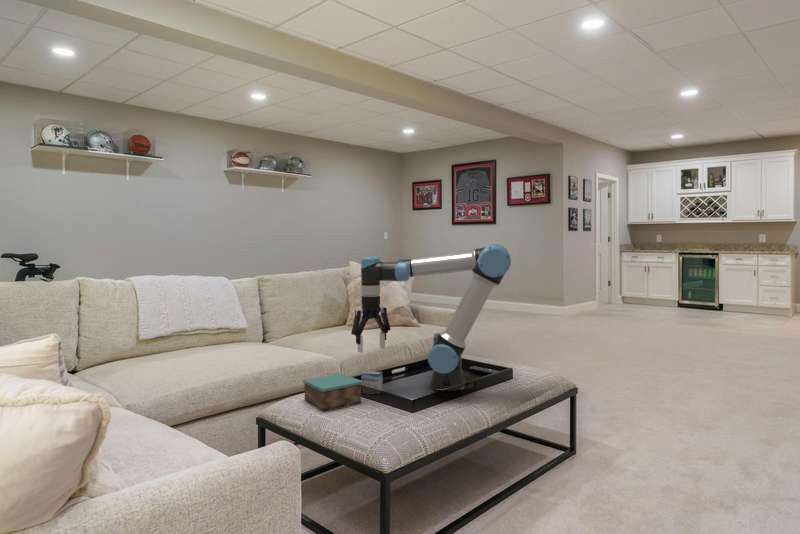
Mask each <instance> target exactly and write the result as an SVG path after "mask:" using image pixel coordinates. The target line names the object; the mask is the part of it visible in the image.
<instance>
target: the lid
mask: <svg viewBox="0 0 800 534" xmlns="http://www.w3.org/2000/svg"><path fill="white" fill-rule="evenodd" d="M302 383H303V384H304V383H305V384H307V385H309V386H311V387H313V388H315V389H318V390H320V391H322V392H326V391H331V390H336V389H341V388H345V387H350V386H355V385H361V384H363V381H361V379H358V378H355V377H353V376H351V375H348V374H345V373H342V372H341V373H335V374H330V375H324V376H319V377H314V378H308V379H304V380H302Z"/></svg>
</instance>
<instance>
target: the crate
mask: <svg viewBox="0 0 800 534" xmlns="http://www.w3.org/2000/svg"><path fill="white" fill-rule="evenodd" d="M303 384H304V388H303V389H304V401H306V402H307V403H308V404H310V405H312V406H313V407H315V408H317V409H318V410H320V411H321V412H328V411H332V410H331V409H333V410H336V409H335V408H337V409H340V407H342V408H345V407H344V406H346V407H348V406H347V405H350V406H353V405H352V404H355V405H358V404H357V403H359V404H361V403H362V394H361V384H360V385H355V386H350V387H345V388H341V389H336V390H331V391H326V392H322V391H320V390H318V389H315V388H313V387H311V386H309V385H307V384H305V383H303Z"/></svg>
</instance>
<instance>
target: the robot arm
mask: <svg viewBox="0 0 800 534" xmlns="http://www.w3.org/2000/svg"><path fill="white" fill-rule="evenodd" d="M511 259H512V257H511V255H510V252H509V251H508V249H507V248H505V247H504V246H503V245H500V244H490V245H488V246H484V247H479V248H475V249H474V248H473V250H472V251H467V252H458V253H451V254H449V253H448V254H441V255H434V256H432V255H431V256H425V257H416V258H411V259H398V260H396V261H387V262H386V261H381V259H380V257H379V256H365V257H362V258H361V263H360V264H361V265H360V266H361V267H360V276H361V277H360V279H361V281H360V282H361V288H360V289H361V295H362V296H361V309H355V310H354V319H353V320H354V321H353V324H352V328H351V335H353V336H355V344H356V345H357V352H358V353H361V354H362V353H364V347H363V345H364V341H363V340H364V339H363V335H362V333H363V331H364V329H365V328H366V325H367V323H368V321H369V320H371V319H374V320H375V322H376V323H377V325H378V328H379V330H380V332H379V349H382V350H385V349H386V341H387V334H388V333H389V331H391V326H390V321H389V318H388V314H387V312H388V310H387V309H388V308H387V307H383V306H380V305H381V296H380V295H381V282H385V281H386V282H388V281H389V282H406V281H409V280H410V278H414V277H423V276H434V275H441V274H451V273H461V272H468V271H469V272H470V271H471V273H472V278H471V281H470V282H469V284H468V286H467V288H466V290H465V291H464V293H463V296H462V297H461V299H460V301H459V303H458V305H457V307H456V309H455V311H454V313H453V315H452V316H451V318H450V321H449V322H448V324H447V326H446V328H445V329H444V330H442V331H440V332H435V333H434V334H433V338H432V339H433V344H432V347H430V350H429V351H428V352H427V363H428V364H429V366H430V368H431V369H432V373H431V378H430V380H429V388H430V387H431V388H434V389H444V388H448V387H452V386H455V385H459V384H462V383H465V382H466V380H465V376H464V372H463V370H462V369H463V368H462V366H463V365H462V361H463V360H462V355H463V353H464V351H465V349H466V347H467V345H466V339H467V337H468V335H469V334H470V332H471V330H472V328H473V326H474V324H475V322H476V320H477V319H478V317H479V315H480V314H481V311H482V309H483V307H484V305H485V303H486V302H487V300H488V298H489V296H490V294H491V292H492V291H493V288H495V287H497V286H500V284H501V282H502V280H503V279H504V276H505V275H506V274H507V272H508V270H509V269H510V267H511V264H512V263H511V262H512V260H511ZM380 314H381V315H380ZM431 388H430V389H431Z"/></svg>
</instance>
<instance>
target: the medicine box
mask: <svg viewBox="0 0 800 534" xmlns="http://www.w3.org/2000/svg"><path fill="white" fill-rule="evenodd" d="M383 373H384V372H383V371H373V370H372V371H371V370H364V371H362V372H361V374H360V375H361V377H360V378H361V379H360V380H361V381H363V384H362V385H366V386H370V387H374V388H377V389H381V390H383V389H384V388H383V385H384V384H383V379H384V378H383ZM383 391H384V390H383Z"/></svg>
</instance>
